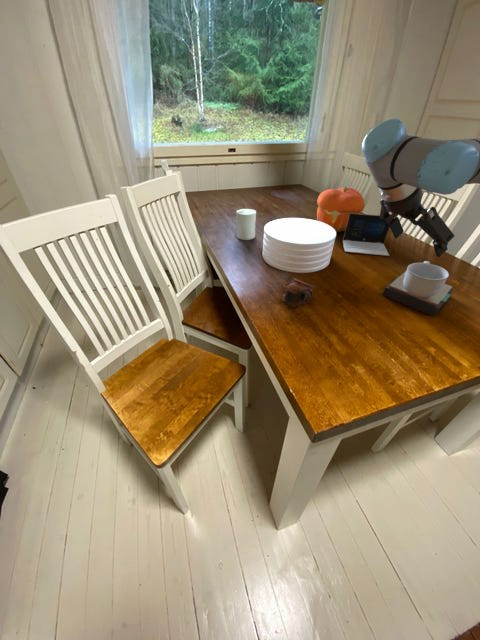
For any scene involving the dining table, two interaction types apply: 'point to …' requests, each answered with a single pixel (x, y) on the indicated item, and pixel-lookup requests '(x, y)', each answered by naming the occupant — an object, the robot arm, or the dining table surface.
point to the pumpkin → (338, 207)
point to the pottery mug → (293, 290)
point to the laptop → (365, 234)
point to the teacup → (424, 279)
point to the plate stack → (298, 244)
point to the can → (246, 224)
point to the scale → (423, 304)
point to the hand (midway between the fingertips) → (419, 243)
